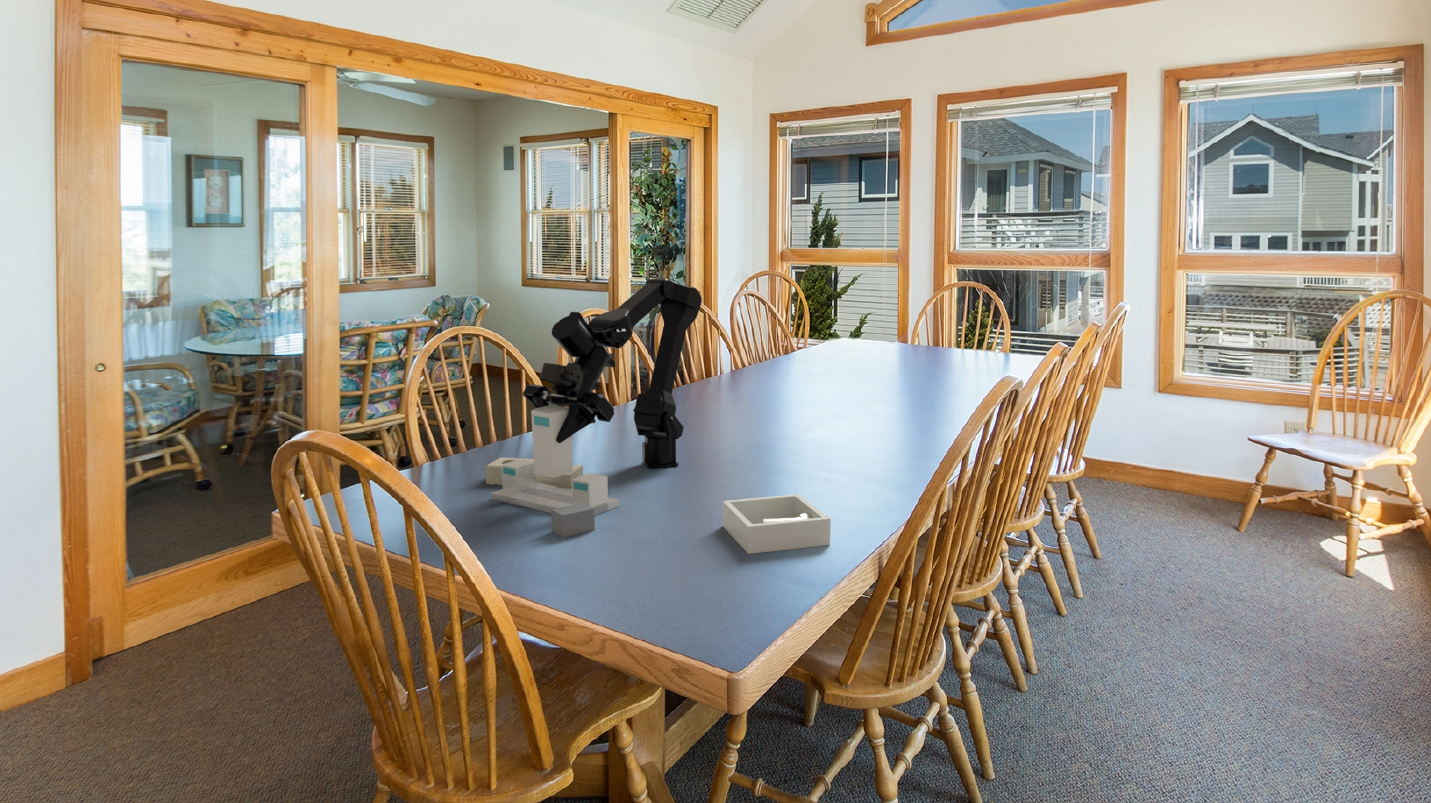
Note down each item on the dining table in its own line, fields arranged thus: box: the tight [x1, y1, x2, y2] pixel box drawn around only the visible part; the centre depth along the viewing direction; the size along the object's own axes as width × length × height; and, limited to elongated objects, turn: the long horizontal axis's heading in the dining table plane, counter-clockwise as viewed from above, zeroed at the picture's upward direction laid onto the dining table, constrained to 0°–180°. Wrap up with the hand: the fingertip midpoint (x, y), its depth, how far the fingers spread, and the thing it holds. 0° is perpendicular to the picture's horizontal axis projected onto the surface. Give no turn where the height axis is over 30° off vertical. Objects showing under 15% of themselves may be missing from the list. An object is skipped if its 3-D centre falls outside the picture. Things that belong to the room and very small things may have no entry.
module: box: [531, 405, 574, 478], centre depth 169 cm, size 5×5×12 cm
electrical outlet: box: [484, 456, 584, 490], centre depth 184 cm, size 7×4×18 cm
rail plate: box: [490, 459, 620, 516], centre depth 170 cm, size 10×23×6 cm, turn 56°
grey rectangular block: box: [550, 503, 596, 538], centre depth 155 cm, size 6×4×4 cm, turn 129°
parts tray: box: [722, 493, 832, 555], centre depth 153 cm, size 14×14×4 cm
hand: (547, 439), depth 167 cm, fingers closed on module, 5 cm apart
